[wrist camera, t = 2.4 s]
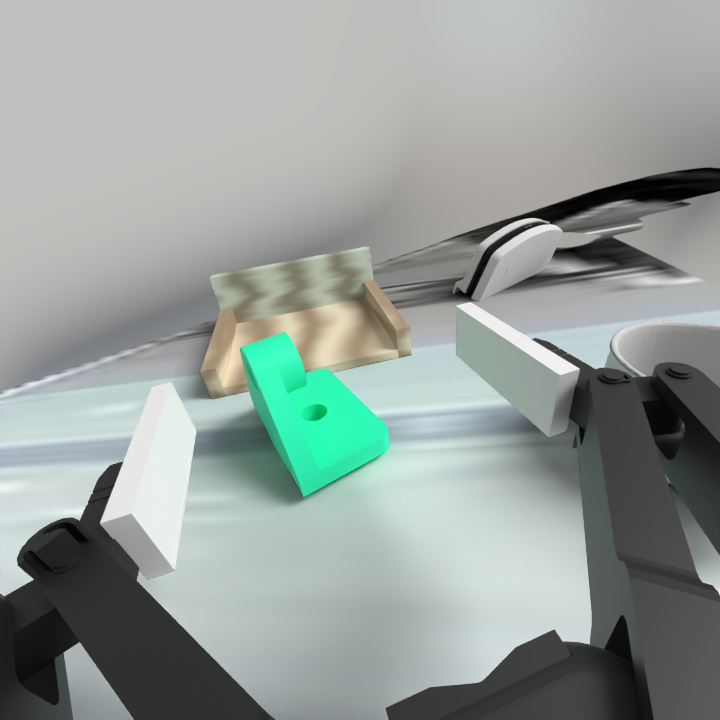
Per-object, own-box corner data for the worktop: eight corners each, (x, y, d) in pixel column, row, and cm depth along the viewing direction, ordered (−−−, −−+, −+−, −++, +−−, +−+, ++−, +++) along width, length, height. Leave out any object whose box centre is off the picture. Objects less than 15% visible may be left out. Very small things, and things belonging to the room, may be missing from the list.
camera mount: (395, 456, 28) (383, 343, 23) (307, 507, 25) (269, 390, 20) (329, 386, 37) (309, 294, 32) (258, 417, 34) (223, 321, 29)
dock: (212, 399, 38) (182, 332, 34) (229, 327, 53) (211, 275, 49) (411, 354, 40) (407, 287, 36) (373, 298, 55) (367, 246, 51)
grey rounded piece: (519, 262, 61) (546, 204, 53) (542, 276, 58) (574, 217, 51) (450, 293, 53) (470, 230, 46) (474, 311, 51) (499, 248, 44)
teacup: (572, 399, 31) (591, 314, 27) (729, 408, 28) (780, 314, 24) (626, 557, 20) (675, 455, 15) (900, 602, 17) (1055, 490, 12)
